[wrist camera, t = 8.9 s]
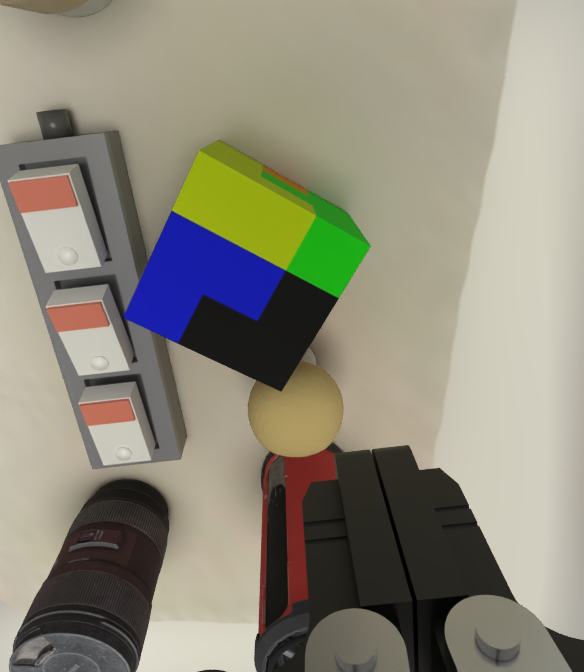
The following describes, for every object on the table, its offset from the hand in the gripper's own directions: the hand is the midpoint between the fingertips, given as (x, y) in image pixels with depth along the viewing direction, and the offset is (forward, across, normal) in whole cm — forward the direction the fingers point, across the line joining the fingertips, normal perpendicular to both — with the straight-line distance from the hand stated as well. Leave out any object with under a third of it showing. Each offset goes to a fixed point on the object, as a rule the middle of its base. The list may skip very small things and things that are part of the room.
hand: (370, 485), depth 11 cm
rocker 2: (+25, +15, +5) cm, 30 cm away
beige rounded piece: (+29, +2, +11) cm, 31 cm away
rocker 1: (+25, +15, -2) cm, 30 cm away
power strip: (+29, +15, +5) cm, 33 cm away
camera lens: (+29, +18, +24) cm, 42 cm away
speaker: (+29, +2, +22) cm, 37 cm away
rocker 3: (+25, +15, +12) cm, 32 cm away
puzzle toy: (+29, +4, +1) cm, 29 cm away
